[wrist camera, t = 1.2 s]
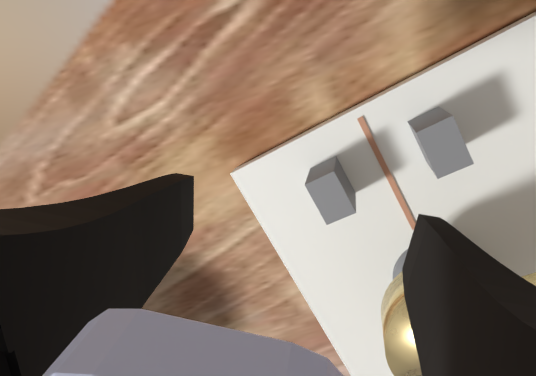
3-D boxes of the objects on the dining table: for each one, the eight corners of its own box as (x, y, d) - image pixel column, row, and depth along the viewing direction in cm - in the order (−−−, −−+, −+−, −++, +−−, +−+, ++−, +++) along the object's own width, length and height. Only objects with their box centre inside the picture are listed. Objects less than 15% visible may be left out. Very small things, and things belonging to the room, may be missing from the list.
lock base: (665, 307, 21) (736, 366, 17) (363, 382, 27) (364, 438, 23) (558, -1, 17) (618, -15, 13) (235, 167, 23) (212, 191, 19)
